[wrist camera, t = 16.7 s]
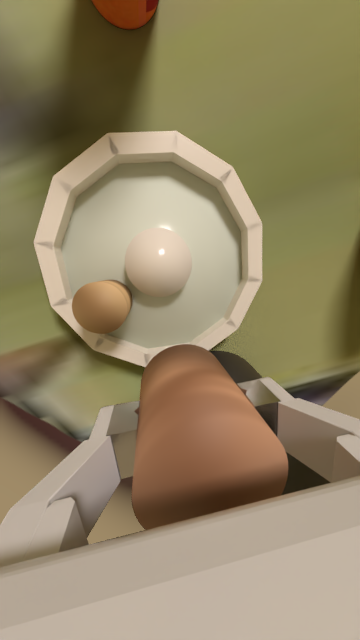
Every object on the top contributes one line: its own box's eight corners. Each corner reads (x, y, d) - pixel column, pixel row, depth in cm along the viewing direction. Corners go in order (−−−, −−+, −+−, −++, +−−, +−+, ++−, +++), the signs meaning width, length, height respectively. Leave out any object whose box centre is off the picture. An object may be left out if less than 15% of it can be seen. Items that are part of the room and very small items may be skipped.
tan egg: (114, 271, 20) (102, 270, 15) (141, 303, 21) (138, 313, 16) (81, 296, 20) (59, 303, 15) (109, 327, 21) (97, 343, 16)
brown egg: (221, 338, 10) (291, 403, 5) (225, 410, 11) (286, 523, 6) (134, 351, 9) (116, 438, 4) (147, 426, 10) (145, 563, 5)
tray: (282, 215, 22) (298, 208, 19) (202, 376, 25) (208, 387, 23) (93, 99, 17) (83, 72, 15) (26, 316, 21) (10, 322, 18)
